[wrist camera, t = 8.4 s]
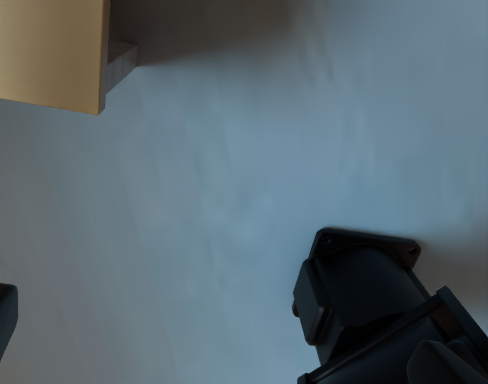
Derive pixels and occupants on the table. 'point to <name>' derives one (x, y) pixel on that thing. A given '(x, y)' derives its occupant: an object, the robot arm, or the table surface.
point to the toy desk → (60, 53)
